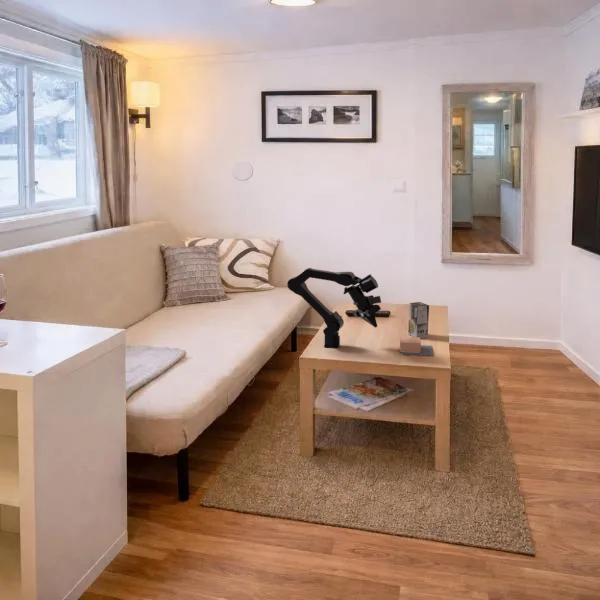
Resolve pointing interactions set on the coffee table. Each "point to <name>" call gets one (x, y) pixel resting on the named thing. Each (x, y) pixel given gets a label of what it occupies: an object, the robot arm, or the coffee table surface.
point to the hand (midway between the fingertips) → (376, 327)
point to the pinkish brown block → (410, 344)
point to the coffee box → (418, 319)
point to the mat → (422, 351)
